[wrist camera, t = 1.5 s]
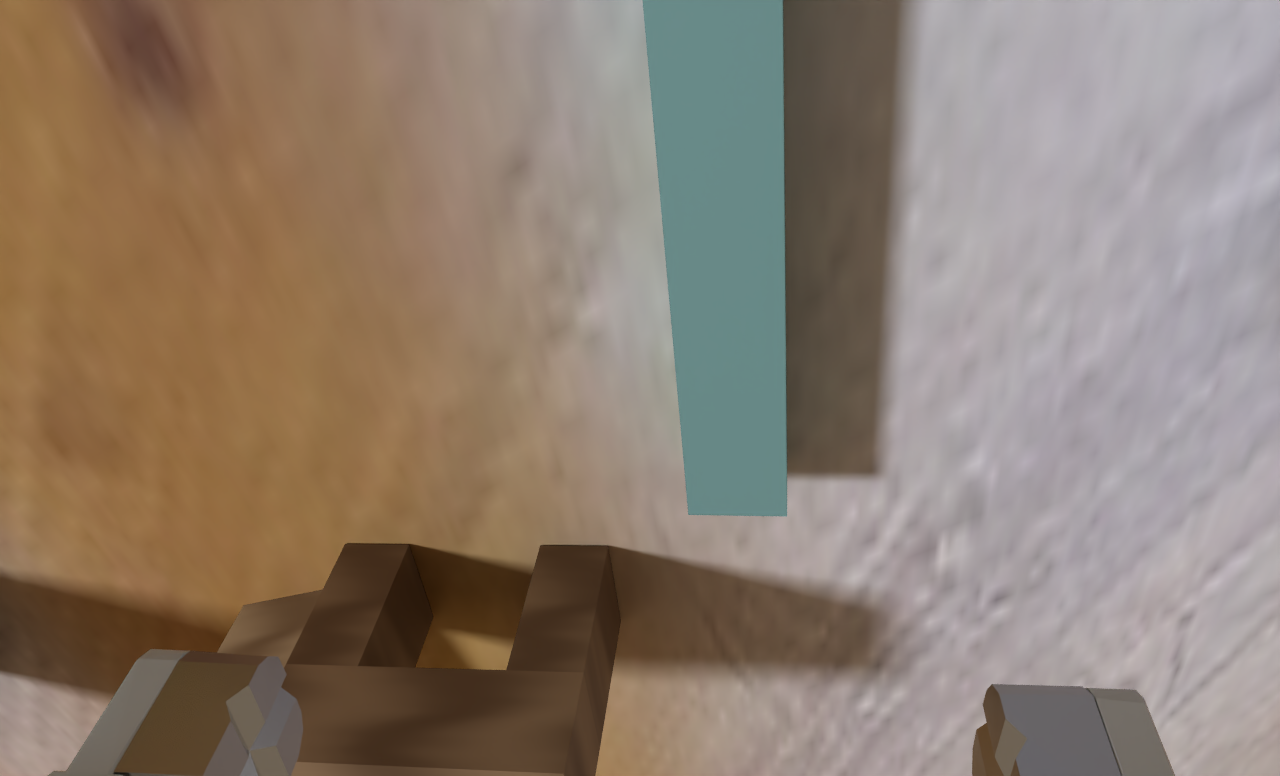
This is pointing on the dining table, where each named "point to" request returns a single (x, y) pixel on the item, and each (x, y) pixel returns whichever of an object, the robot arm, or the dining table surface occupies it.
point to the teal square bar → (724, 242)
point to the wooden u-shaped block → (453, 674)
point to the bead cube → (270, 626)
